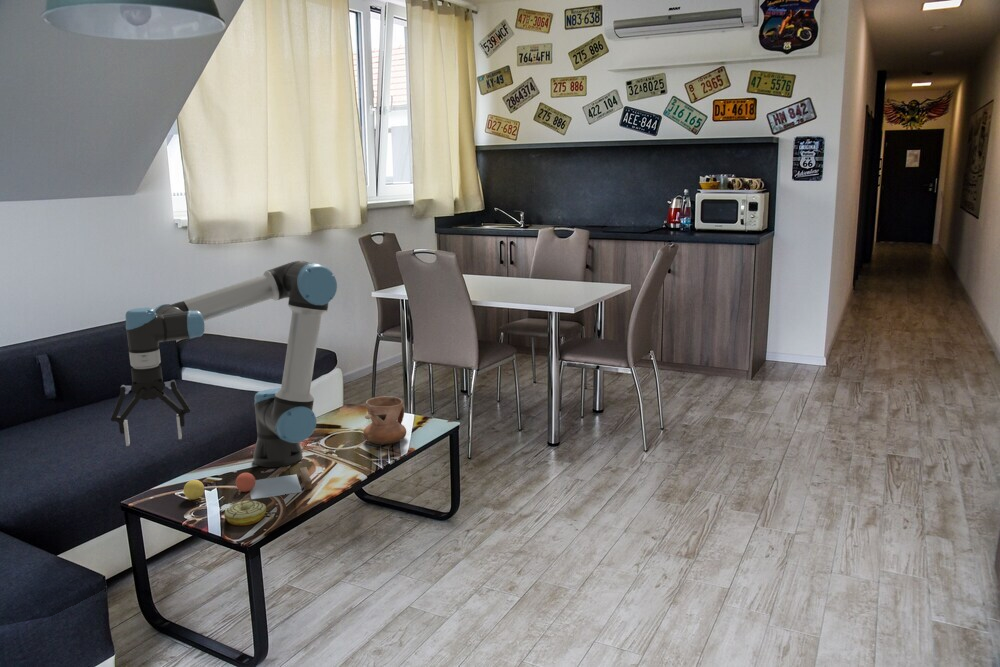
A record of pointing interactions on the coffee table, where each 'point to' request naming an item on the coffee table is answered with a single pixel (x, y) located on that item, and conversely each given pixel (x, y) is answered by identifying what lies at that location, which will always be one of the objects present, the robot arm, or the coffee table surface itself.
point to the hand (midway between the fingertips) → (154, 441)
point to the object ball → (245, 482)
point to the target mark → (275, 486)
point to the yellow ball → (193, 489)
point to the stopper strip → (305, 478)
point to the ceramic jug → (385, 420)
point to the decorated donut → (245, 513)
